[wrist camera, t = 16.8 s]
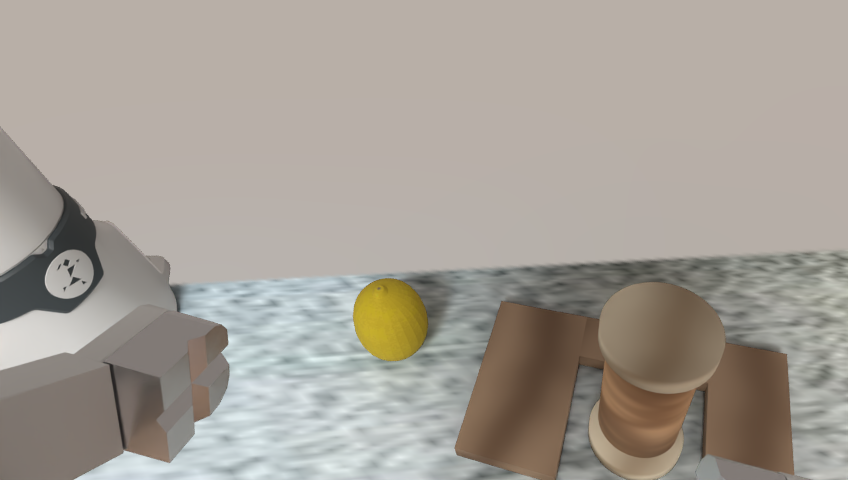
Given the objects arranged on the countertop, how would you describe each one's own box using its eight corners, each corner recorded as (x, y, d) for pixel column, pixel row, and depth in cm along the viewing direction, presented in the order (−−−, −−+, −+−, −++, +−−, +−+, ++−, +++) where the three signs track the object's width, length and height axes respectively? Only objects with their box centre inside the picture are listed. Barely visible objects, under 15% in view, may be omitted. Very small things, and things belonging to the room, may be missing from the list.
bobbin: (581, 466, 36) (590, 365, 27) (595, 387, 40) (607, 273, 30) (677, 493, 34) (724, 395, 25) (683, 408, 38) (726, 292, 28)
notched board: (456, 455, 38) (454, 448, 37) (502, 309, 46) (501, 301, 45) (791, 554, 31) (798, 548, 30) (781, 363, 39) (786, 354, 38)
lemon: (444, 327, 45) (428, 266, 40) (420, 386, 42) (398, 329, 36) (384, 313, 47) (361, 253, 42) (357, 369, 44) (327, 312, 38)
